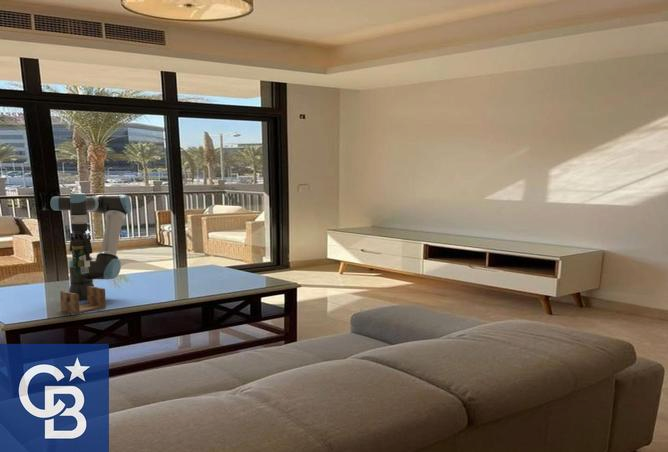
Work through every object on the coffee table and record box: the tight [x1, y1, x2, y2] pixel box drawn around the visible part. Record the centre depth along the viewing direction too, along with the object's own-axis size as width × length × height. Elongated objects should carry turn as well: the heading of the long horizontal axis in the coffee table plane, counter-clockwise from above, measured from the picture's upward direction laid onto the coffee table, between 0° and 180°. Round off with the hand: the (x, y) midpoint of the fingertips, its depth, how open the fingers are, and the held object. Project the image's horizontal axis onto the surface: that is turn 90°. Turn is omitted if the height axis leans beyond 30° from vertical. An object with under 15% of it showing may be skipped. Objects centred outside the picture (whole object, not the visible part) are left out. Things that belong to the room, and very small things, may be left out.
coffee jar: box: [71, 239, 90, 275], centre depth 264 cm, size 10×8×19 cm
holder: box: [59, 286, 107, 315], centre depth 266 cm, size 14×18×10 cm
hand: (81, 265), depth 264 cm, fingers closed on coffee jar, 9 cm apart
